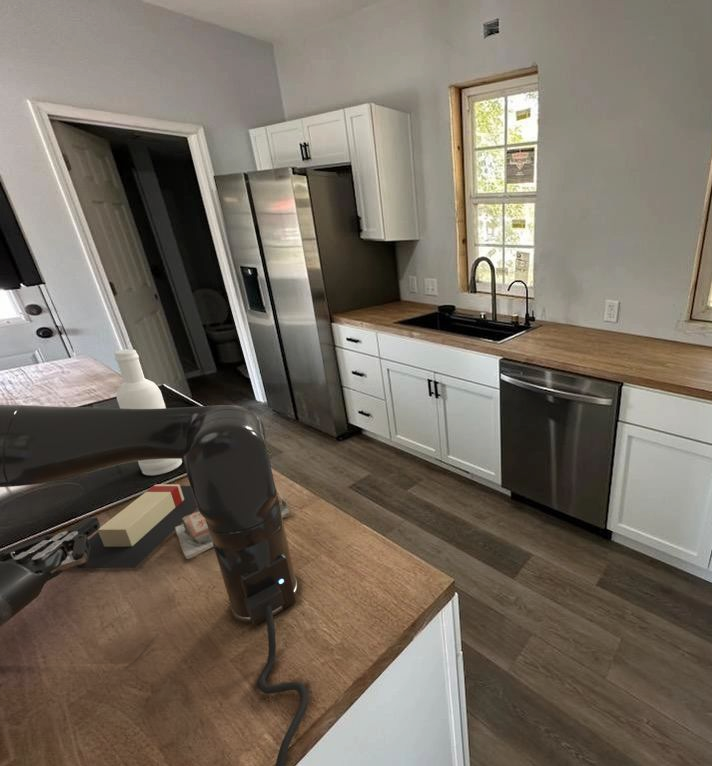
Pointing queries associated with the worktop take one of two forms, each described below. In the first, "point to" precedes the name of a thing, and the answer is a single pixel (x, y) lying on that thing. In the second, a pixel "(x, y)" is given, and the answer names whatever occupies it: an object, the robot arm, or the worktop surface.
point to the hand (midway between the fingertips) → (94, 521)
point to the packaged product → (205, 531)
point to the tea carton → (141, 515)
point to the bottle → (141, 402)
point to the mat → (146, 544)
